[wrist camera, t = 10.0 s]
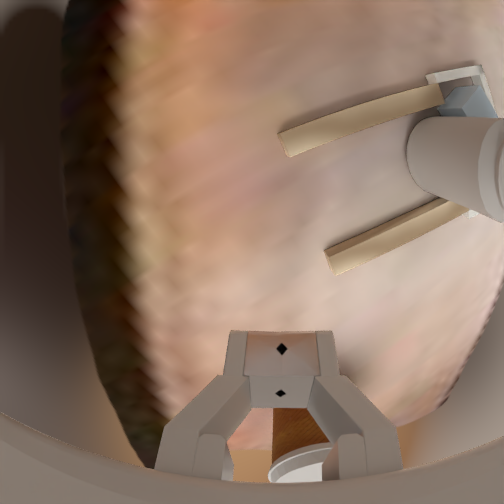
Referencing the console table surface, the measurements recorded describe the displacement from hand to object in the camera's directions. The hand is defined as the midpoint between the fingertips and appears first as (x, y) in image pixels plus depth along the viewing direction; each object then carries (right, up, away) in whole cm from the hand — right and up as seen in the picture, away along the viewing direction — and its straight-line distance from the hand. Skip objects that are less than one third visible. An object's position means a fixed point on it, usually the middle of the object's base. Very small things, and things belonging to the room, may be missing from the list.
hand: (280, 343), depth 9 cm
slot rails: (+11, +10, +16) cm, 21 cm away
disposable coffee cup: (+5, -15, +25) cm, 30 cm away
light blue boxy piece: (+20, +17, +14) cm, 29 cm away
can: (+16, +12, +15) cm, 25 cm away
